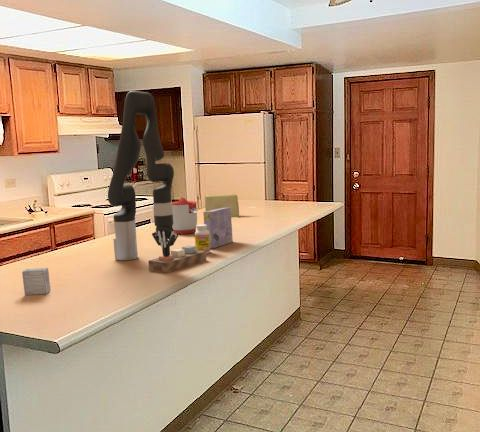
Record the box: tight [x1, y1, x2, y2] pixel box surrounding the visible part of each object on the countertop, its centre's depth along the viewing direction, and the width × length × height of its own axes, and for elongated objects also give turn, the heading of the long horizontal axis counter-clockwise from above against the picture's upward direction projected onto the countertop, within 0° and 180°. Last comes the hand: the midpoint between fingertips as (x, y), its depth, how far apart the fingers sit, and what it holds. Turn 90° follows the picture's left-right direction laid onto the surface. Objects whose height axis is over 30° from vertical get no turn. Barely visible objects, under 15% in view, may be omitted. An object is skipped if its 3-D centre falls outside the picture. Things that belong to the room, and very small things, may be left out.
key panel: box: [147, 250, 207, 274], centre depth 224 cm, size 24×10×4 cm, turn 143°
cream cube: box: [170, 248, 185, 258], centre depth 224 cm, size 4×4×4 cm
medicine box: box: [21, 267, 51, 296], centre depth 192 cm, size 8×4×9 cm, turn 92°
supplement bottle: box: [194, 223, 211, 254], centre depth 246 cm, size 7×7×13 cm
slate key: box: [181, 245, 196, 254], centre depth 230 cm, size 4×4×4 cm
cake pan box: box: [202, 207, 234, 249], centre depth 262 cm, size 19×5×18 cm, turn 149°
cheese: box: [204, 193, 240, 218], centre depth 354 cm, size 22×10×15 cm, turn 67°
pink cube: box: [158, 255, 173, 261], centre depth 219 cm, size 4×4×4 cm
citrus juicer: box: [171, 196, 199, 235], centre depth 301 cm, size 16×17×20 cm
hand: (166, 256), depth 218 cm, fingers closed
